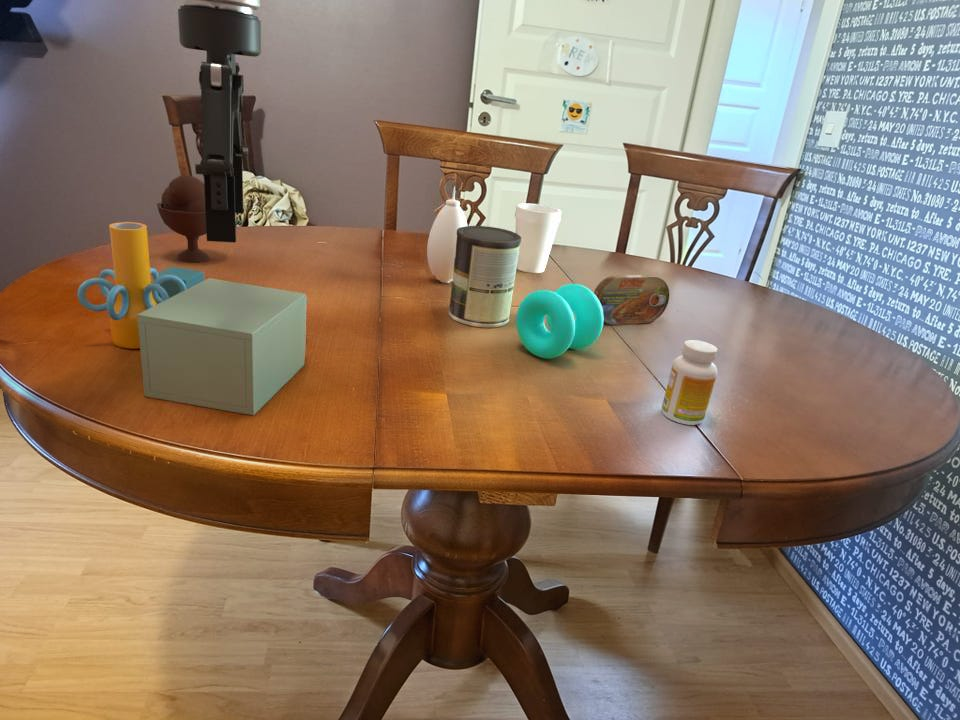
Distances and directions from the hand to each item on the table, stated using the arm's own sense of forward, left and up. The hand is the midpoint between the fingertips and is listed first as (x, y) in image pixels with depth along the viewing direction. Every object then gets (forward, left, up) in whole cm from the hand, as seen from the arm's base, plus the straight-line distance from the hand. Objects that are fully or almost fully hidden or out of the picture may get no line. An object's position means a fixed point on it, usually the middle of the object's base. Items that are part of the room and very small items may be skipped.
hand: (226, 225), depth 73 cm
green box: (0, -1, -18) cm, 18 cm away
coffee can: (+25, +35, -18) cm, 47 cm away
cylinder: (-15, +5, -18) cm, 25 cm away
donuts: (+38, +25, -18) cm, 49 cm away
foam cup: (+31, +71, -18) cm, 80 cm away
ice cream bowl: (-29, +42, -18) cm, 54 cm away
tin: (+50, +45, -18) cm, 70 cm away
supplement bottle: (+55, +10, -18) cm, 59 cm away
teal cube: (-18, +19, -18) cm, 32 cm away
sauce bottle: (+16, +52, -18) cm, 58 cm away
